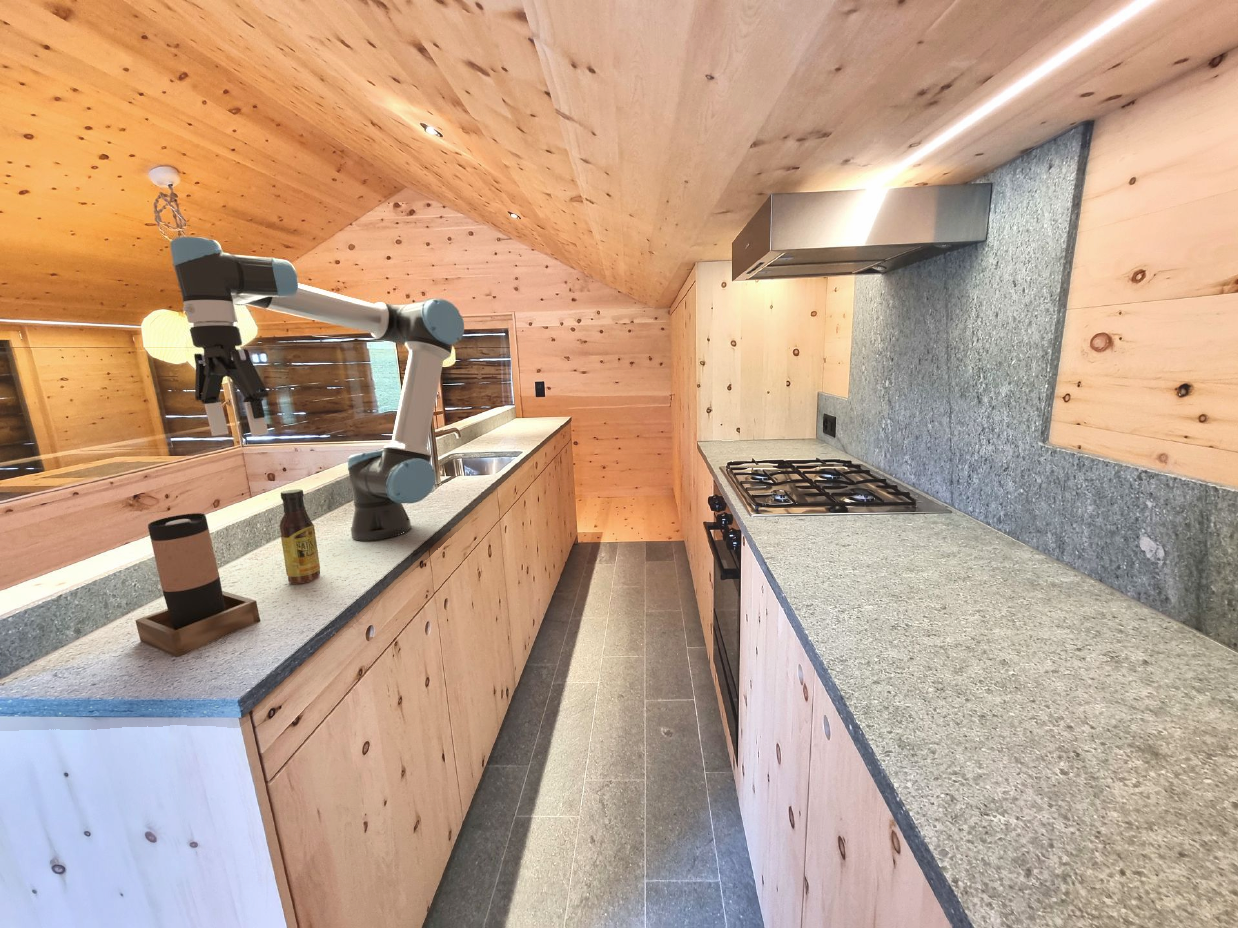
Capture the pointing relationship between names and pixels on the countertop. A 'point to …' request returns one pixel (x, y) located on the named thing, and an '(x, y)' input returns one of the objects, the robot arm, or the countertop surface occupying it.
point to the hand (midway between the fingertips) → (239, 435)
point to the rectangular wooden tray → (197, 626)
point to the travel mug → (187, 568)
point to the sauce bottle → (298, 539)
